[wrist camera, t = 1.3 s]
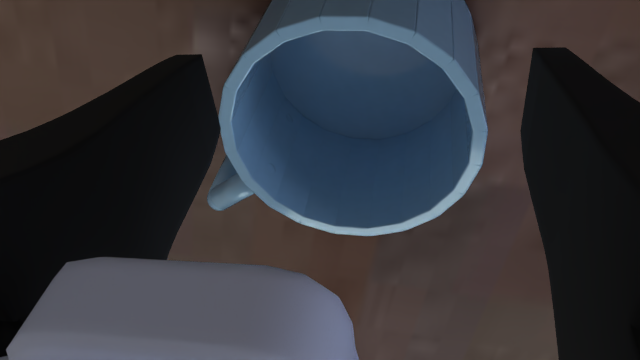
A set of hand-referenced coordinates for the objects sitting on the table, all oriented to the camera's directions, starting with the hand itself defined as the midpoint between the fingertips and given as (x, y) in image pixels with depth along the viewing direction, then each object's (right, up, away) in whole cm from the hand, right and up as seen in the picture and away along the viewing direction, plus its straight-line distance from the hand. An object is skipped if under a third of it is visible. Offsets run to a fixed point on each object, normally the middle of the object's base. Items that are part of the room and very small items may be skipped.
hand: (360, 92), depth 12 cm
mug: (0, +2, +11) cm, 11 cm away
